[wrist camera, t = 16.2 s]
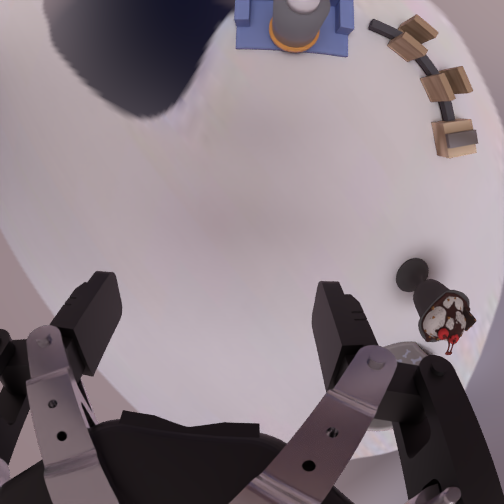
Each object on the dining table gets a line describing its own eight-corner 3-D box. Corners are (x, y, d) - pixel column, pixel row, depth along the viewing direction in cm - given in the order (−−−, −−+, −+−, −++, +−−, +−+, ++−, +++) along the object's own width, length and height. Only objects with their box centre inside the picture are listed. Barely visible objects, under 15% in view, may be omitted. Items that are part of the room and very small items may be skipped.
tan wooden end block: (464, 149, 30) (479, 153, 27) (437, 155, 31) (451, 159, 28) (458, 118, 29) (474, 119, 26) (431, 122, 29) (445, 123, 26)
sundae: (380, 282, 38) (424, 360, 24) (412, 242, 36) (474, 306, 22) (410, 304, 39) (455, 378, 25) (441, 268, 37) (499, 333, 23)
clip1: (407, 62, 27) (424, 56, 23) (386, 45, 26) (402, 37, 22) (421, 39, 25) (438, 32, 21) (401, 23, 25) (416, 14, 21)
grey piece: (260, 41, 27) (257, 4, 17) (282, 7, 25) (288, -39, 15) (303, 62, 28) (319, 34, 17) (324, 28, 26) (348, -10, 16)
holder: (346, 57, 27) (354, 51, 25) (236, 49, 28) (233, 41, 25) (345, 0, 24) (352, -10, 22) (239, -8, 25) (236, -19, 22)
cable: (364, 25, 25) (367, 22, 24) (384, 11, 24) (388, 9, 23) (447, 134, 29) (452, 135, 28) (464, 119, 28) (469, 119, 27)
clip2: (430, 102, 28) (449, 101, 24) (419, 78, 28) (438, 75, 23) (453, 92, 28) (473, 90, 23) (443, 69, 27) (462, 65, 23)
